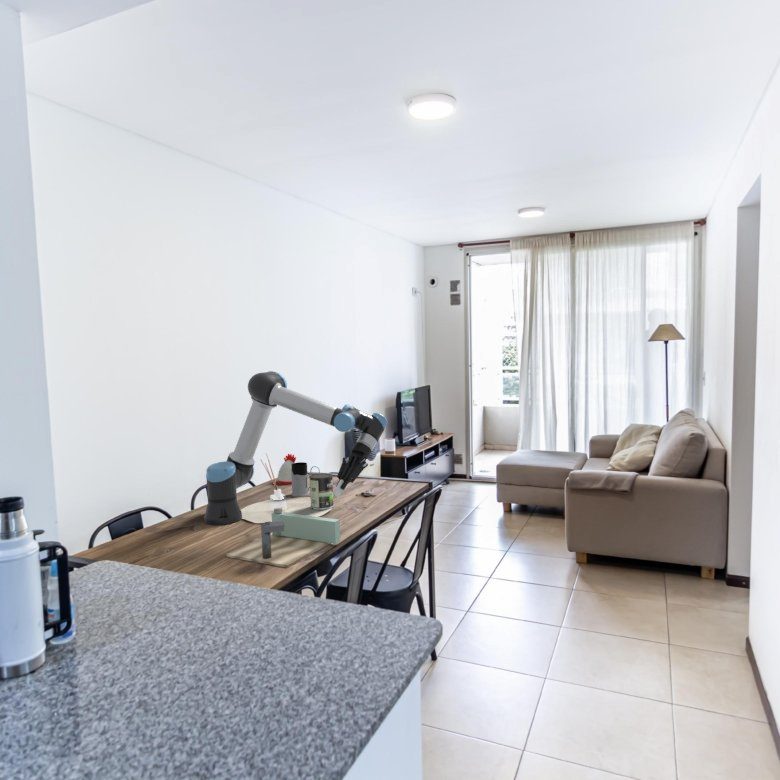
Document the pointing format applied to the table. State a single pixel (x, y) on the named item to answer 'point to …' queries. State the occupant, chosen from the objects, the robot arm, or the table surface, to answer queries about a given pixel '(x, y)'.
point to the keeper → (269, 536)
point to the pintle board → (278, 549)
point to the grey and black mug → (300, 479)
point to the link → (308, 527)
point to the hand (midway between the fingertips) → (335, 495)
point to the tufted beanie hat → (286, 470)
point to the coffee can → (321, 491)
